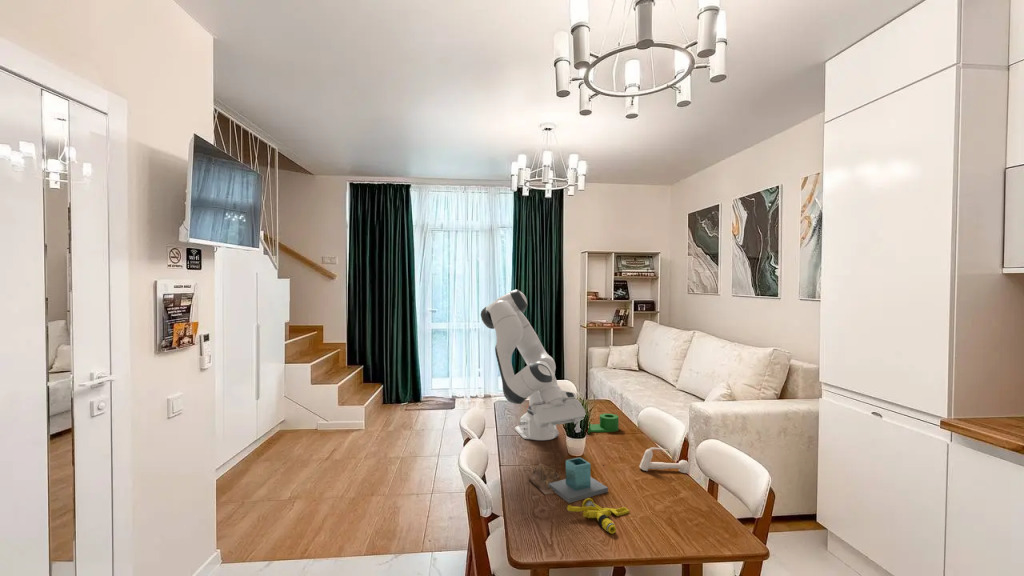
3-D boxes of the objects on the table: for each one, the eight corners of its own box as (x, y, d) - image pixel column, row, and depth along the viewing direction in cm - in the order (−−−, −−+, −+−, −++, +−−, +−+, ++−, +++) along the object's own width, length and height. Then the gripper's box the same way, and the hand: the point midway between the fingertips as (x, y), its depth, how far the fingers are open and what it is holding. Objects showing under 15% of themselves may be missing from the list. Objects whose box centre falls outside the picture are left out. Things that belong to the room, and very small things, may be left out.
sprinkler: (587, 523, 115) (563, 497, 129) (585, 538, 115) (561, 510, 129) (647, 521, 121) (618, 495, 136) (645, 535, 121) (616, 508, 136)
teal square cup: (565, 483, 146) (565, 460, 146) (580, 480, 148) (580, 457, 148) (575, 490, 140) (575, 466, 140) (590, 487, 143) (590, 463, 143)
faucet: (686, 486, 157) (695, 461, 157) (640, 469, 158) (649, 444, 158) (682, 481, 161) (691, 457, 161) (638, 465, 163) (646, 440, 162)
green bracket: (614, 426, 213) (614, 413, 213) (621, 431, 204) (621, 418, 204) (579, 427, 211) (579, 414, 211) (584, 433, 202) (584, 419, 202)
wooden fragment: (562, 496, 140) (562, 493, 140) (529, 495, 141) (529, 492, 141) (557, 464, 166) (557, 462, 166) (529, 464, 166) (529, 461, 167)
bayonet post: (548, 487, 146) (548, 465, 146) (585, 478, 153) (585, 457, 153) (569, 503, 135) (569, 479, 135) (607, 491, 143) (607, 469, 143)
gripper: (532, 399, 155) (546, 433, 146) (578, 392, 164) (594, 425, 155) (526, 408, 158) (539, 442, 150) (572, 401, 168) (587, 433, 159)
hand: (567, 433), depth 152 cm, fingers open, 8 cm apart
